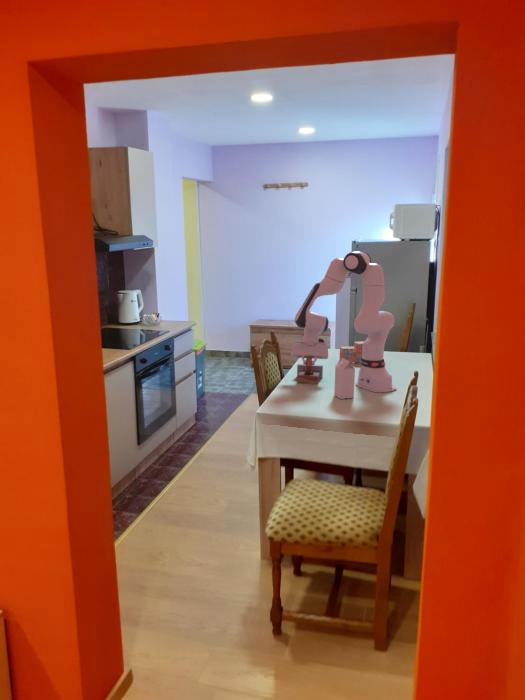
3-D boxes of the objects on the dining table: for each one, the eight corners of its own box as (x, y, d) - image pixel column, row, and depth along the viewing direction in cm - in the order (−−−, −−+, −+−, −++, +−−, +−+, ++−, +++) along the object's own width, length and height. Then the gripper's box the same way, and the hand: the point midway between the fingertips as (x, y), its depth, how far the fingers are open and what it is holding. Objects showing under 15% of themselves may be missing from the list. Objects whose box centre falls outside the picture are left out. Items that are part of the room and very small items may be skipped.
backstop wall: (297, 376, 321) (297, 364, 319) (322, 377, 319) (322, 365, 317) (297, 377, 319) (297, 365, 317) (322, 378, 317) (322, 366, 315)
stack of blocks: (341, 363, 351) (342, 343, 349) (339, 361, 358) (340, 341, 355) (375, 362, 354) (376, 343, 351) (372, 360, 360) (373, 341, 358)
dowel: (312, 372, 310) (313, 358, 308) (307, 372, 309) (307, 358, 307) (310, 370, 313) (310, 356, 311) (304, 371, 312) (305, 357, 310)
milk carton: (346, 394, 288) (348, 357, 284) (353, 398, 282) (355, 360, 278) (334, 395, 286) (335, 358, 282) (341, 399, 279) (342, 361, 275)
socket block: (299, 378, 318) (299, 370, 317) (319, 379, 316) (319, 371, 315) (297, 383, 307) (297, 375, 306) (318, 384, 306) (318, 376, 305)
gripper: (291, 338, 315) (289, 360, 308) (329, 340, 312) (327, 362, 305) (292, 344, 321) (290, 366, 313) (329, 346, 318) (327, 368, 310)
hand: (308, 364), depth 309 cm, fingers closed on dowel, 3 cm apart
